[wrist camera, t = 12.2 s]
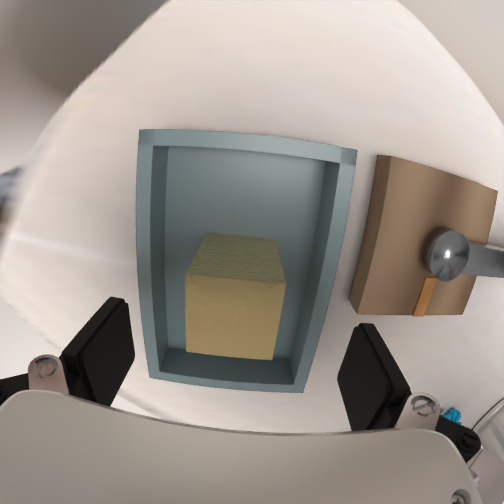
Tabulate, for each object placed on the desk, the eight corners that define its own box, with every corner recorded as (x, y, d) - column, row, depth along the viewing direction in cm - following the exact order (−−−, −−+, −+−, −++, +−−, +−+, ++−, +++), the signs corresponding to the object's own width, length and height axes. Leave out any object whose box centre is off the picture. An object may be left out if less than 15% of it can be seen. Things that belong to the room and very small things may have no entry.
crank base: (481, 186, 16) (499, 191, 14) (450, 302, 20) (463, 315, 18) (377, 154, 16) (392, 156, 14) (348, 299, 19) (357, 315, 17)
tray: (337, 149, 16) (357, 150, 13) (296, 360, 21) (302, 392, 18) (160, 132, 16) (139, 129, 12) (161, 347, 21) (149, 377, 18)
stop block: (275, 238, 17) (286, 283, 11) (266, 298, 18) (272, 360, 13) (207, 232, 17) (185, 273, 11) (204, 292, 18) (186, 351, 13)
